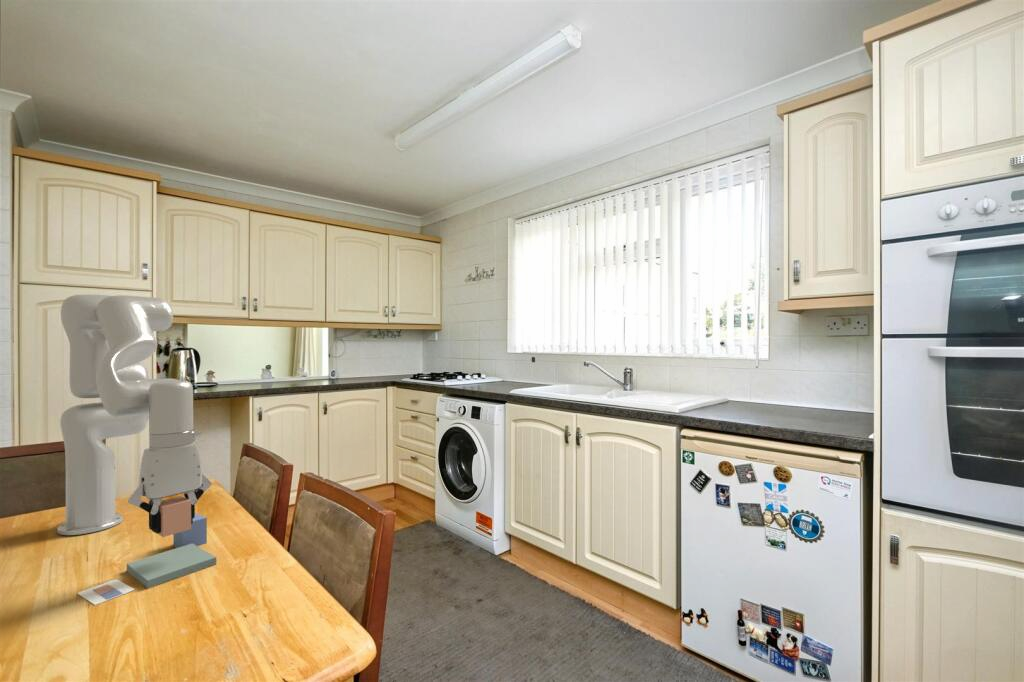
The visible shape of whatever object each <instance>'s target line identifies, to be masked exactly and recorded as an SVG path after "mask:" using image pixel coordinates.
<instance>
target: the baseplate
mask: <svg viewBox="0 0 1024 682" xmlns="http://www.w3.org/2000/svg"><path fill="white" fill-rule="evenodd" d="M215 565H217V556H215V555H213V554H212V553H210V552H209V551H207V550H205V549H203V548H202V547H200V546H196V545H195V544H193V543H192V544H189V545H185V546H182V547H179V548H177V547H175V548H173V549H170V550H166V551H163V552H161V553H157V554H154V555H150V556H147V557H143V558H141V559H137V560H135V561H130V562H128V563H126V572H127V573H128V574H130V575H131V576H132V577H133V578H135V579H136V580H137V581H138V582H140V583H141V584H142V585H143V586H145V587H146V588H147V589H150V588H153V587H155V586H159V585H161V584H164V583H168V582H171V581H173V580H175V579H179V578H182V577H184V576H186V575H187V576H188V575H190V574H192V573H196V572H198V571H201V570H203V569H207V568H209V567H212V566H215Z"/></svg>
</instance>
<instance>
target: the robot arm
mask: <svg viewBox="0 0 1024 682" xmlns="http://www.w3.org/2000/svg"><path fill="white" fill-rule="evenodd" d="M171 307H172V306H171V305H170V304H169V303H168V302H167V301H166V300H164V299H163V298H161V297H152V296H138V295H121V294H119V295H109V294H108V295H107V294H106V295H105V294H103V295H102V294H77V295H76V294H75V295H70V296H68V297H66V298H65V299H64V300H63V302H62V304H61V307H60V320H61V323H62V328H63V329H64V331H65V333H66V337H67V339H68V342H69V380H68V381H69V390H70V393H71V394H72V395H73V396H74V397H75V398H78V399H99V398H100V401H101V402H91V403H82V404H76V405H74V406H73V405H72V406H71V407H68V408H67V409H65V411H63V413H62V414H61V416H60V422H59V425H60V429H61V434H62V439H63V445H64V452H65V454H64V455H65V522H63V523H62V524H60V525H59V526H57V529H56V530H57V531H56V532H57V534H58V535H61V536H77V535H78V536H79V535H87V534H92V533H95V532H100V531H103V530H106V529H110V528H113V527H115V526H117V525H119V524H120V523H122V522H123V519H124V517H123V514H122V513H118V512H116V458H115V457H116V456H115V453H114V451H113V450H112V449H111V447H109V446H108V445H106V443H104V442H103V441H104V440H107V439H111V438H119V437H125V436H133V435H137V434H140V433H142V432H143V431H145V430H146V428H147V425H148V441H149V442H148V444H149V445H148V446H149V447H148V448H145V449H144V450H143V454H142V457H141V462H140V463H141V464H140V469H139V478H138V479H139V480H138V486H137V488H136V489H135V491H133V493H132V494H131V495H130V496H129V498H128V499H127V502H128V503H129V504H131V505H133V506H134V507H138V508H140V509H142V510H144V511H145V512H147V513H148V528H149V530H150V531H152V532H153V533H154V534H157V535H159V534H158V533H160V532H161V514H160V513H159V506H160V503H161V501H163V500H162V499H165V498H168V497H174V496H177V495H181V494H183V497H184V498H187V499H189V500H191V524H192V523H193V518H195V514H196V512H195V511H196V510H195V509H196V507H195V505H196V504H197V503H198V501H199V499H200V498H201V497H202V495H204V494H205V492H206V491H207V490H208V489H209V488H210V487H211V486H212V484H213V482H211V481H210V480H209V478H207V477H206V476H205V475H204V474H203V472H202V462H201V456H200V452H199V447H198V445H197V442H195V439H197V438H200V437H201V435H202V434H201V431H200V430H195V428H194V387H193V384H192V383H191V382H190V381H187V380H179V379H177V378H149V374H148V373H149V372H148V370H147V368H146V366H145V365H144V363H142V361H144V360H147V359H148V358H150V357H151V356H152V355H153V354H154V353H155V352H156V351H157V348H158V341H157V339H156V337H155V335H154V332H164V331H167V330H169V328H171V327H172V325H173V322H174V313H173V310H172V308H171ZM142 497H145V498H146V499H148V502H146V501H144V500H142V499H141V498H142Z"/></svg>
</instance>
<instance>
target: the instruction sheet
mask: <svg viewBox="0 0 1024 682" xmlns="http://www.w3.org/2000/svg"><path fill="white" fill-rule="evenodd" d="M134 591H135V588H133V587H131V586H129V585H128V584H127V583H124V582H123V581H121V580H119V579H117V578H115V579H113V580H110V581H107V582H104V583H101V584H98V585H95V586H93V587H90V588H87V589H85V590H82V591H78V592H77V595H79V596H80V597H82V598H83V599H85V600H86V601H88V602H90V603H91V604H92V605H94V606H97V605H100V604H101V603H105V602H107V601H109V600H112V599H115V598H118V597H121V596H123V595H125V594H128V593H131V592H134Z"/></svg>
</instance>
